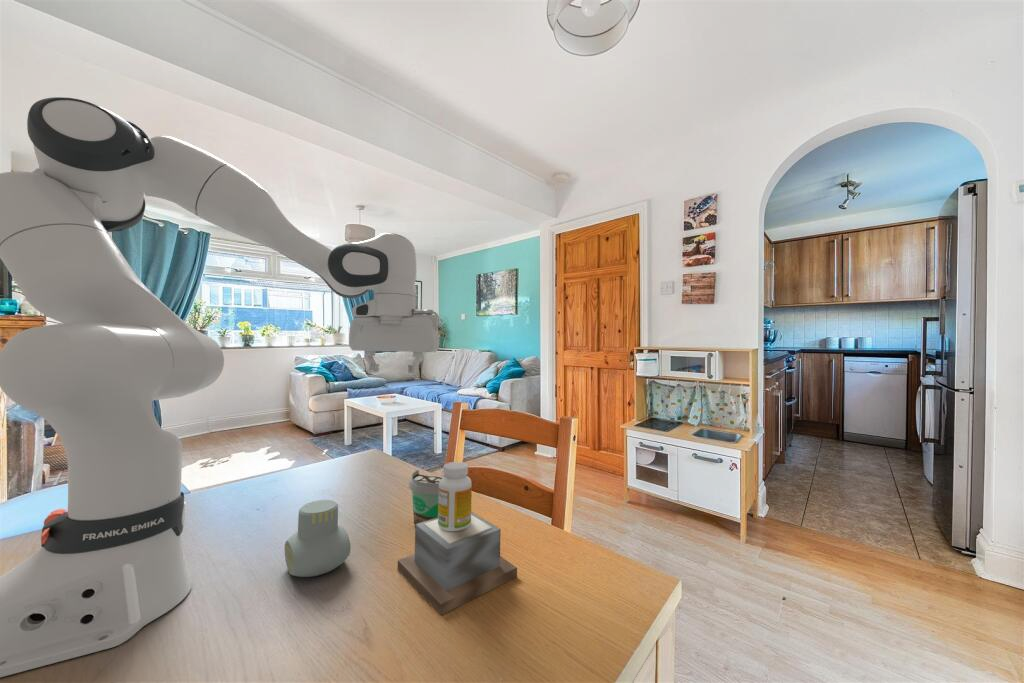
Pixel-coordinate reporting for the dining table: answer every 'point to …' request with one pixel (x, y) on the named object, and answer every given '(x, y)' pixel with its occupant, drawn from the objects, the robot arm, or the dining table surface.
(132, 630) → the robot arm
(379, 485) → the dining table surface
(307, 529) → the air freshener
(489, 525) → the pedestal
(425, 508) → the food container
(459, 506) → the supplement bottle
